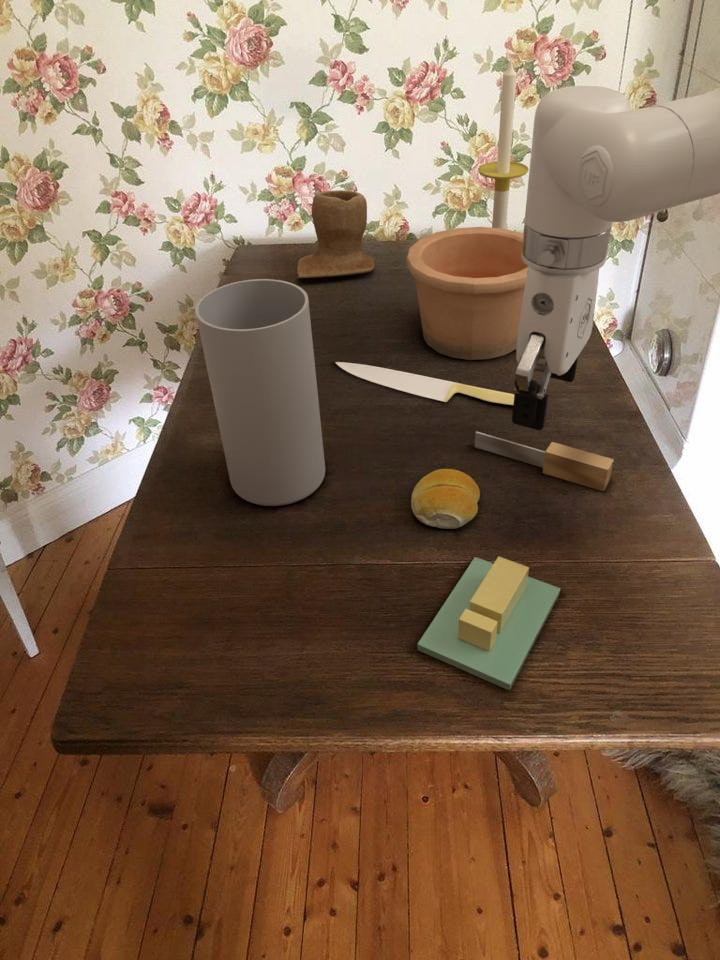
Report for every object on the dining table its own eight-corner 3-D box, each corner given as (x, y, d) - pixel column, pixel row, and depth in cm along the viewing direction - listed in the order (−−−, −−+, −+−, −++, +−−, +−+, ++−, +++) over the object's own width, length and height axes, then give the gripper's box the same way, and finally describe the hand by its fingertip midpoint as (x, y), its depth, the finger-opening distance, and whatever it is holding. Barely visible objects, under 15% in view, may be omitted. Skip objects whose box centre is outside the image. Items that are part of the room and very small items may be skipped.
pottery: (401, 367, 119) (399, 282, 110) (415, 303, 136) (415, 225, 127) (541, 372, 116) (551, 285, 107) (537, 306, 132) (546, 226, 123)
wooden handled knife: (609, 480, 95) (614, 459, 93) (603, 491, 94) (608, 469, 92) (478, 442, 103) (480, 421, 101) (471, 451, 101) (472, 430, 99)
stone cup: (370, 255, 153) (367, 180, 144) (377, 280, 144) (374, 201, 135) (296, 261, 153) (288, 186, 143) (298, 287, 143) (290, 208, 134)
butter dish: (559, 594, 81) (564, 568, 79) (509, 690, 72) (512, 665, 70) (474, 562, 86) (476, 537, 83) (417, 650, 77) (417, 624, 74)
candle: (471, 268, 146) (481, 49, 122) (523, 270, 144) (544, 48, 120) (466, 291, 139) (476, 63, 115) (521, 293, 137) (543, 62, 113)
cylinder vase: (305, 517, 93) (281, 336, 77) (214, 499, 96) (174, 323, 80) (339, 457, 102) (324, 284, 86) (255, 443, 105) (226, 274, 89)
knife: (326, 377, 119) (340, 359, 122) (533, 426, 106) (544, 404, 109) (324, 371, 119) (339, 353, 121) (533, 419, 105) (544, 397, 108)
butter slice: (496, 640, 76) (498, 621, 74) (489, 651, 75) (491, 632, 73) (464, 627, 77) (465, 608, 75) (457, 638, 76) (458, 619, 74)
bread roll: (481, 486, 96) (482, 461, 93) (474, 534, 89) (476, 509, 87) (416, 480, 97) (416, 455, 95) (406, 526, 91) (405, 501, 88)
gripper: (576, 289, 60) (551, 456, 71) (632, 215, 72) (603, 369, 83) (489, 272, 63) (478, 436, 74) (555, 204, 75) (537, 354, 86)
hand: (544, 400), depth 79 cm, fingers open, 9 cm apart
